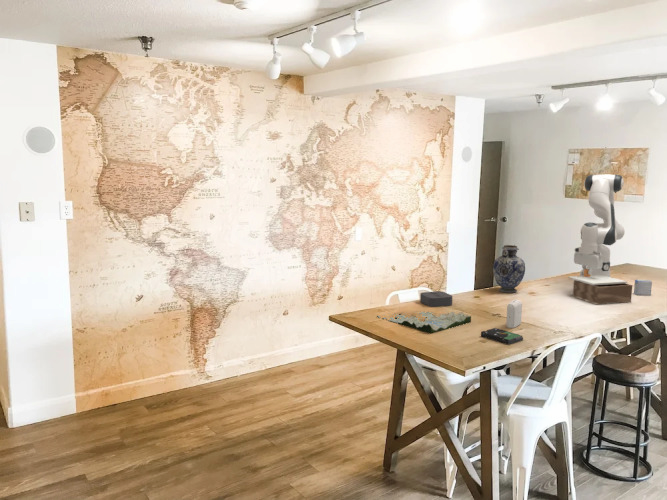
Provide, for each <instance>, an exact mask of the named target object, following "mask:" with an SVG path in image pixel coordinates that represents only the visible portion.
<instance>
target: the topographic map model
mask: <svg viewBox="0 0 667 500" xmlns="http://www.w3.org/2000/svg"><path fill="white" fill-rule="evenodd" d="M420 312H421V313H420ZM420 312H418V313H419V314H418V315H422V314H423V315H422V317H421V318H423V316H425V317H428V318H424V319H425V321H424V322H423V321H421V320H420V319H419V320H420V321H419V320H418V318H419V317H417V318H416V316H406V315H404V314H401V315H398V314H393V315H394V316H395V315H397V316H396V317H389V318H390V319H391V320H390V319H389V318H387V317H382V318H380V316H379V315H376V318H377V317H378V319H382V320H384V319H389V320H388V322H390V323H394V324H397V323H398V324H397V325H400V324H401V326H403V325H404V326H403V327H407V328H410V329H414V330H416V329H417V331H421V332H424V333H427V334H429V333H430V335H432V334H435V333H439V332H442V331H446V330H448V329H449V328H450V329H453V328H456V326H457V327H460V326H464V325H466V323H467V324H470V323H471V322H472V315H469V314H465V313H464V312H458V313H455V312H454V311H451V312H447V313H441V315H434V314H435V312H430V311H427V312H425V311H420ZM432 313H434V314H433V315H432ZM405 316H406V318H405ZM438 316H439V317H438ZM397 317H399V318H397ZM408 317H410V318H408ZM394 318H397V319H395V320H394ZM400 318H401V319H400ZM427 319H428V320H427ZM432 322H433V323H432ZM463 324H464V325H463ZM459 325H460V326H459ZM452 327H453V328H452Z"/></svg>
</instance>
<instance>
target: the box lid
mask: <svg viewBox="0 0 667 500" xmlns="http://www.w3.org/2000/svg"><path fill="white" fill-rule="evenodd" d="M587 271H589V269H584V276H580V275H576V276H575V275H574V276H573V275H572V276H570V275H569V276H568V279H570V280H573V281H574V280H576V281H580V282H583V283H587V284H590V285H607V284H623V283H626V284H628V280H627V281H626V280H622V279H620V278H615V277H611V276H610V277H608V276H604V275H590V274H587Z"/></svg>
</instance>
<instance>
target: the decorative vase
mask: <svg viewBox="0 0 667 500" xmlns="http://www.w3.org/2000/svg"><path fill="white" fill-rule="evenodd" d="M501 249H502V252H501V255H500V256H498V257H497V258H495V259H494V261H493V266H492V271H493V276H494V279H495V283H496V285H498V286H500V288H498V292H501V293H507V294H516V293H517V289H516V288H517V287H519V285H520V284H521V282H522V281H523V279H524V276H525V274H526V273H525V272H526V263H525V261H524V259H522V257H520V256H517V253H518V251H519V250H520V249H519V248H518V246H517V245H515V244H514V245H511V244H506V245H503V246H502V247H501Z"/></svg>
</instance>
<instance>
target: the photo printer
mask: <svg viewBox="0 0 667 500" xmlns="http://www.w3.org/2000/svg"><path fill="white" fill-rule="evenodd" d="M506 306H507V307H506V327H507V328H508V329H515V328H516V327H518V326H520V325H521V324H522V315H523V314H522V312H523V311H522V310H523V309H522V308H523V303H522V301H521V300H519V299H513V300H511V301H510V302H509V303H508V304H507V305H506Z"/></svg>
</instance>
